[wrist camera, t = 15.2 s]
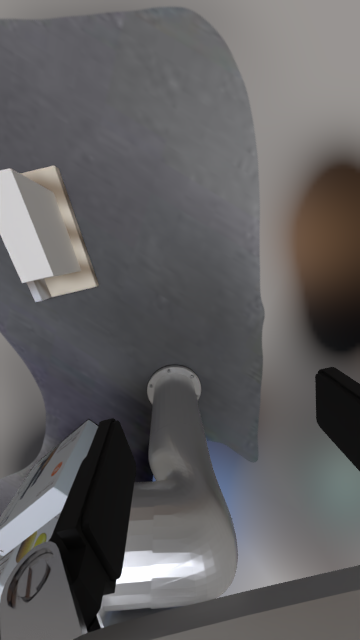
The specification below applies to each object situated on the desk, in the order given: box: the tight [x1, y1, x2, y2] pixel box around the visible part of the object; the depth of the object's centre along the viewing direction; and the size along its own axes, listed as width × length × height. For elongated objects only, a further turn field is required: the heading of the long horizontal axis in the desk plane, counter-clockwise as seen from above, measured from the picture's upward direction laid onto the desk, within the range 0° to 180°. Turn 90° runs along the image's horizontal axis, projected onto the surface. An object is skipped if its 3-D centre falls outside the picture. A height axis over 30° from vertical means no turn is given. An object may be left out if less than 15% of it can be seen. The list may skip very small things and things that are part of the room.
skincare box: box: [0, 420, 98, 556], centre depth 45 cm, size 21×6×16 cm, turn 132°
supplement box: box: [0, 512, 61, 599], centre depth 50 cm, size 10×9×17 cm
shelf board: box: [20, 166, 99, 302], centre depth 35 cm, size 20×10×5 cm, turn 13°
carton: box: [0, 168, 81, 283], centre depth 32 cm, size 5×13×10 cm, turn 12°
